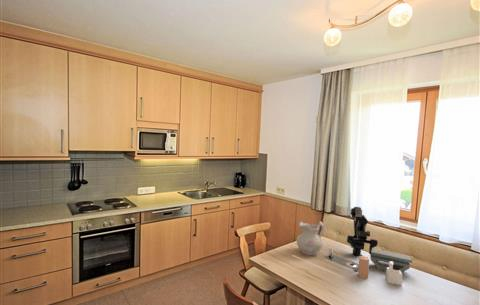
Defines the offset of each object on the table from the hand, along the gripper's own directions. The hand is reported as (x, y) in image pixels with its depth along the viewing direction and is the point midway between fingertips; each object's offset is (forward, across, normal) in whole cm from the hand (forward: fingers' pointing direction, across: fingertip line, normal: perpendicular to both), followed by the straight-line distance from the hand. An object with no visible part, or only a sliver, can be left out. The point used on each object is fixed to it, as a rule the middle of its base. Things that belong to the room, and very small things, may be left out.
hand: (362, 252), depth 165 cm
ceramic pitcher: (-2, -34, +20) cm, 40 cm away
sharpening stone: (+1, +18, +17) cm, 25 cm away
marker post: (+14, 0, +4) cm, 14 cm away
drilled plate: (+3, -10, +15) cm, 18 cm away
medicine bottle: (+13, +18, +5) cm, 23 cm away
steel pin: (-1, -19, +18) cm, 26 cm away
